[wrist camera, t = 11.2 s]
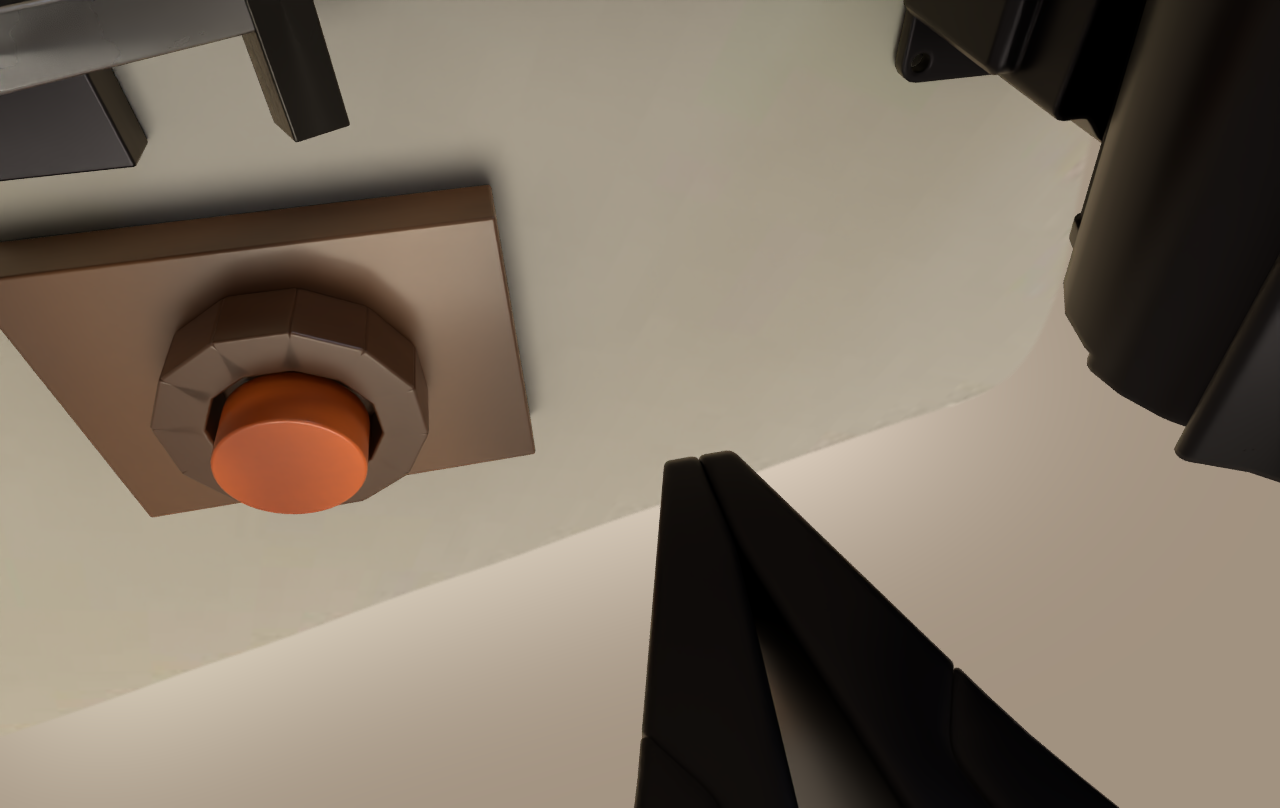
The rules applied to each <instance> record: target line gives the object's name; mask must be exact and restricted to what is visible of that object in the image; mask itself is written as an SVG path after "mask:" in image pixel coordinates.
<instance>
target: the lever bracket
mask: <svg viewBox="0 0 1280 808" xmlns="http://www.w3.org/2000/svg"><path fill="white" fill-rule="evenodd" d="M147 143H148V141H147V139H146V137H145V135H144V133H143V131H142V129H141V127H140V125H139V123H138V121H137V119H136V117H135V115H134V113H133V111H132V109H131V107H130V105H129V103H128V101H127V99H126V97H125V95H124V93H123V91H122V89H121V87H120V85H119V83H118V81H117V79H116V77H115V75H114V73H113V71H112V69H111V68H108V69H104V70H100V71H96V72H92V73H88V74H84V75H80V76H76V77H72V78H68V79H64V80H60V81H56V82H52V83H48V84H44V85H40V86H36V87H32V88H28V89H24V90H20V91H16V92H12V93H8V94H4V95H0V181H6V180H15V179H24V178H34V177H43V176H52V175H61V174H71V173H80V172H89V171H99V170H108V169H117V168H127V167H134V166H136V165H137V163H138V161H139V159H140V157H141V155H142V153H143V151H144V149H145V147H146V145H147Z"/></svg>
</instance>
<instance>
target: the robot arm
mask: <svg viewBox="0 0 1280 808" xmlns="http://www.w3.org/2000/svg"><path fill="white" fill-rule="evenodd" d="M904 5H905V6H906V8H907V10H906V14H905V19H904V23H903V28H902V32H901V37H900V41H899V46H898V50H897V55H896V62H895V67H896V69H897V72H898V73H899V74H900V75H901V76H903V77H904V78H905V79H906V80H907V81H909V82H915V83H917V82H927V81H936V80H945V79H954V78H964V77H973V76H982V75H999V76H1000V77H1001V78H1003V79H1004V80H1005V81H1007V82H1008V83H1009V84H1011V85H1012V86H1013V87H1015V88H1016V89H1017V90H1019V91H1020V92H1021V93H1023V94H1024V95H1025V96H1027V97H1028V98H1029V99H1031V100H1032V101H1033V102H1034V103H1036V104H1037V105H1038V106H1040V107H1041V108H1042V109H1044V110H1045V111H1046V112H1048V113H1049V114H1050V115H1052V116H1053V117H1054V118H1056V119H1057V120H1061V121H1068V120H1071V121H1072V122H1074V123H1075V124H1076V125H1078V126H1079V127H1080V128H1082V129H1083V130H1084V131H1086V132H1087V133H1088V134H1090V135H1091V136H1093V137H1094V138H1095V139H1097V140H1098V141H1099V142H1101V146H1100V150H1099V153H1098V157H1097V160H1096V164H1095V167H1094V171H1093V174H1092V177H1091V181H1090V184H1089V187H1088V191H1087V194H1086V198H1085V201H1084V205H1083V208H1082V211H1081V213H1079V214H1077V215H1076V216H1075V218H1074V222H1073V225H1072V229H1071V232H1070V236H1069V239H1070V242H1071V245H1072V247H1073V251H1072V255H1071V258H1070V262H1069V265H1068V268H1067V272H1066V275H1065V278H1064V282H1063V284H1064V302H1065V314H1066V316H1067V318H1068V320H1069V321H1070V323H1071V325H1072V326H1073V328H1074V330H1075V332H1076V333H1077V335H1078V337H1079V338H1080V340H1081V342H1082V344H1083V345H1084V347H1085V348H1086V349H1087V350H1088V352H1089V356H1088V358H1087V366H1088V367H1089V369H1090V370H1091V372H1093V373H1094V374H1095V375H1096V376H1098V377H1099V378H1100V379H1101V380H1102V381H1104V382H1105V383H1106V384H1107V385H1109V386H1110V387H1111V388H1112V389H1113V390H1115V391H1116V392H1117V393H1119V394H1120V395H1122V396H1123V397H1125V398H1127V399H1129V400H1131V401H1133V402H1134V403H1136V404H1138V405H1140V406H1142V407H1143V408H1145V409H1147V410H1149V411H1151V412H1153V413H1154V414H1156V415H1158V416H1160V417H1162V418H1164V419H1167V420H1169V421H1171V422H1174V423H1177V424H1180V425H1183V426H1186V427H1185V429H1184V431H1183V433H1182V435H1181V437H1180V439H1179V440H1178V442H1177V444H1176V446H1175V448H1174V450H1175V453H1176V454H1177V456H1179V458H1181V459H1183V460H1185V461H1189V462H1194V463H1200V464H1205V465H1211V466H1216V467H1223V468H1228V469H1234V470H1239V471H1245V472H1250V473H1253V474H1256V475H1259V476H1262V477H1265V478H1268V479H1271V480H1274V481H1277V482H1280V0H904ZM921 53H923V57H922V59H921V61H920V62H919V63H918V64H917V65H916V66H913V67H911V64H912V61H913V59H914V58H915V57H916V56H917V55H918V54H921ZM953 668H954V665H953V663H952V661H951V660H950V659H949V658H948V657H947V656H946V655H945V654H944V653H943V652H942V651H941V650H940V649H939V648H938V647H937V646H936V645H935V644H934V643H932V642H931V641H930V640H929V639H928V638H927V637H926V636H925V635H924V634H923V633H922V632H921V631H920V630H919V629H918V628H917V627H916V626H915V625H914V624H913V623H912V622H911V621H910V620H909V619H907V617H905V616H904V615H903V614H902V613H901V612H900V611H899V610H898V609H897V608H896V607H895V606H894V605H893V604H892V603H891V602H890V601H889V600H888V599H887V598H886V597H885V596H884V595H883V594H882V593H880V591H878V590H877V589H876V588H875V587H874V586H873V585H872V584H871V583H870V582H869V581H868V580H867V579H866V578H865V577H864V576H863V575H862V574H861V573H860V572H859V571H858V570H857V569H855V568H854V566H852V565H851V564H850V563H849V562H848V561H847V560H846V559H845V558H844V557H843V556H842V555H841V554H840V553H839V552H838V551H837V550H836V549H835V548H834V547H833V546H831V544H830V543H829V542H827V540H825V539H824V538H823V537H822V536H821V535H820V534H819V533H818V532H817V531H816V530H815V529H814V528H813V527H812V526H811V525H810V524H809V523H808V522H807V521H806V520H805V519H804V518H802V516H801V515H799V514H798V513H797V512H796V511H795V510H794V509H793V508H792V507H791V506H790V505H789V504H788V503H787V502H786V501H785V500H784V499H783V498H782V497H781V496H780V495H779V494H778V493H777V492H776V491H774V490H773V489H772V488H771V487H770V486H769V485H768V484H767V483H766V482H765V481H764V480H763V479H762V478H761V477H760V476H759V475H758V474H757V473H756V472H755V471H754V470H753V469H752V468H751V467H750V466H749V465H748V464H746V463H745V462H744V461H743V460H742V459H741V458H740V457H739V456H738V455H737V454H736V453H734V452H732V451H721V452H715V453H710V454H704V455H702V456H701V457H700V458H699V460H698V459H697V458H696V457H686V458H681V459H675V460H669V461H667V462H666V463H665V465H664V472H663V484H662V496H661V508H660V520H659V532H658V544H657V556H656V568H655V580H654V593H653V605H652V617H651V629H650V641H649V653H648V665H647V677H646V689H645V701H644V713H643V725H642V740H641V744H640V756H639V768H638V779H637V789H636V796H635V805H634V808H1119V807H1118V806H1117V805H1115V804H1114V803H1113V802H1112V801H1110V800H1109V799H1108V798H1107V797H1105V796H1104V795H1103V794H1102V793H1100V792H1099V791H1098V790H1097V789H1095V788H1094V787H1093V786H1092V785H1090V784H1089V783H1088V782H1087V781H1085V780H1084V779H1083V778H1082V777H1080V776H1079V775H1078V774H1077V773H1076V772H1075V771H1073V770H1072V769H1071V768H1070V767H1069V766H1067V765H1066V764H1065V763H1064V762H1063V761H1061V760H1060V759H1059V758H1058V757H1057V756H1055V755H1054V754H1053V753H1052V752H1051V751H1049V750H1048V749H1047V748H1046V747H1045V746H1043V745H1042V744H1041V743H1040V742H1039V741H1037V740H1036V739H1035V738H1034V737H1032V736H1031V735H1030V734H1029V733H1028V732H1027V731H1026V730H1025V729H1024V728H1022V726H1020V725H1019V724H1018V723H1017V722H1016V721H1015V720H1014V719H1013V718H1012V717H1011V716H1010V715H1008V714H1007V713H1006V712H1005V711H1004V710H1003V709H1002V708H1001V707H1000V706H999V705H998V704H996V703H995V702H994V701H993V700H992V699H991V698H990V697H989V696H988V695H987V694H986V693H985V692H984V691H983V690H982V689H981V688H979V687H978V686H977V685H976V684H975V683H974V682H973V681H972V680H971V679H970V678H969V677H968V676H967V675H966V674H965V673H964V672H963V671H962V670H961V669H959V668H954V669H953Z"/></svg>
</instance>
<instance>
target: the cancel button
mask: <svg viewBox="0 0 1280 808" xmlns="http://www.w3.org/2000/svg"><path fill="white" fill-rule="evenodd" d="M369 435H370V418H369V415H368V412H367V410H366V408H365V406H364V404H363V403H362V402H361V400H360V399H359V398H358V397H357V396H356V395H355V394H354V393H353V392H352V391H351V390H349V389H348V388H346V387H345V386H343V385H342V384H340V383H338V382H336V381H333V380H331V379H328V378H325V377H320V376H315V375H311V374H306V373H302V372H279V373H272V374H266V375H262V376H259V377H256V378H254V379H251V380H249V381H247V382H245V383H244V384H242V385H240V386H239V387H238V388H237V389H235V390H234V391H233V392H232V393H231V394H230V395H229V397H228V398H227V400H226V401H225V403H224V406H223V409H222V413H221V417H220V421H219V425H218V429H217V433H216V438H215V442H214V446H213V450H212V454H211V460H210V464H211V470H212V473H213V476H214V478H215V480H216V482H217V483H218V484H219V486H220V487H221V488H222V489H223V490H224V491H225V492H226V493H227V494H229V495H230V496H231V497H233V498H234V499H236V500H238V501H239V502H241V503H244V504H246V505H248V506H251V507H254V508H256V509H260V510H264V511H268V512H274V513H282V514H305V513H313V512H318V511H323V510H326V509H329V508H332V507H335V506H337V505H339V504H341V503H343V502H345V501H347V500H348V499H350V498H351V497H352V496H353V495H355V494H356V493H357V492H358V490H359V489H360V488H361V487H362V485H363V483H364V481H365V479H366V476H367V471H368V455H369Z"/></svg>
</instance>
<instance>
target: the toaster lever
mask: <svg viewBox="0 0 1280 808" xmlns="http://www.w3.org/2000/svg"><path fill="white" fill-rule="evenodd" d="M240 35H242V37H243V40H244V42H245V45H246V48H247V50H248V53H249V56H250V58H251V61H252V64H253V67H254V69H255V72H256V75H257V77H258V80H259V83H260V85H261V88H262V91H263V94H264V96H265V99H266V102H267V104H268V107H269V110H270V112H271V115H272V118H273V121H274V122H275V124H277V125H278V126H279V127H280V128H281V129H282V130H283V131H284V132H285V133H286V134H287V135H289V136H290V137H291V138H292V139H293V140H294V141H295V142H300V141H303V140H306V139H309V138H312V137H315V136H318V135H321V134H324V133H328V132H331V131H334V130H337V129H340V128H343V127H346V126H349V125H350V123H349V119H348V116H347V113H346V109H345V106H344V102H343V99H342V96H341V92H340V89H339V86H338V82H337V79H336V76H335V72H334V69H333V65H332V62H331V59H330V55H329V52H328V49H327V45H326V42H325V39H324V35H323V32H322V28H321V25H320V22H319V18H318V15H317V12H316V8H315V5H314V1H313V0H0V95H4V94H8V93H12V92H16V91H20V90H24V89H28V88H32V87H36V86H40V85H44V84H48V83H52V82H56V81H60V80H64V79H68V78H72V77H76V76H80V75H84V74H88V73H92V72H96V71H100V70H104V69H108V68H112V67H116V66H120V65H124V64H128V63H132V62H136V61H140V60H144V59H148V58H152V57H156V56H160V55H164V54H168V53H172V52H176V51H180V50H184V49H188V48H192V47H196V46H200V45H204V44H208V43H212V42H216V41H220V40H224V39H228V38H232V37H236V36H240Z"/></svg>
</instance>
